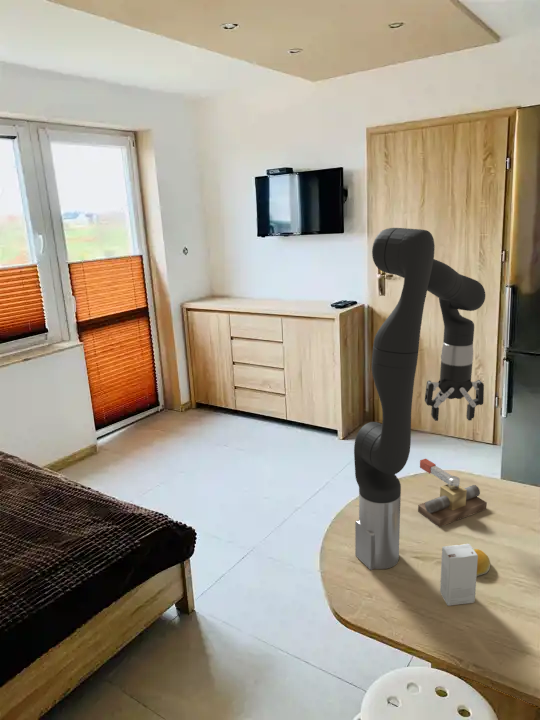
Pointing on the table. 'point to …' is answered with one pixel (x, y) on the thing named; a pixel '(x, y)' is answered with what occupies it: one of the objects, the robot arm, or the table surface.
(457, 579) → the skincare box
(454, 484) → the valve lever
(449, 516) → the valve board
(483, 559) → the bread roll
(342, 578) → the table surface
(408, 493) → the table surface
